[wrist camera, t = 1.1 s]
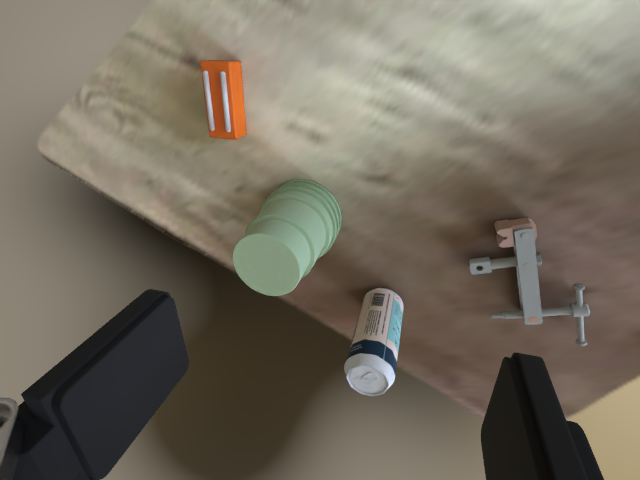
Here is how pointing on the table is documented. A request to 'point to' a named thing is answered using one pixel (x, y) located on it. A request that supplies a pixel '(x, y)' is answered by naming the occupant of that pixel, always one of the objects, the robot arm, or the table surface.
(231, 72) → the striped orange block
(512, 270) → the table surface
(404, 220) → the table surface
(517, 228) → the clamp
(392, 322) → the beer can
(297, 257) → the cup stack
